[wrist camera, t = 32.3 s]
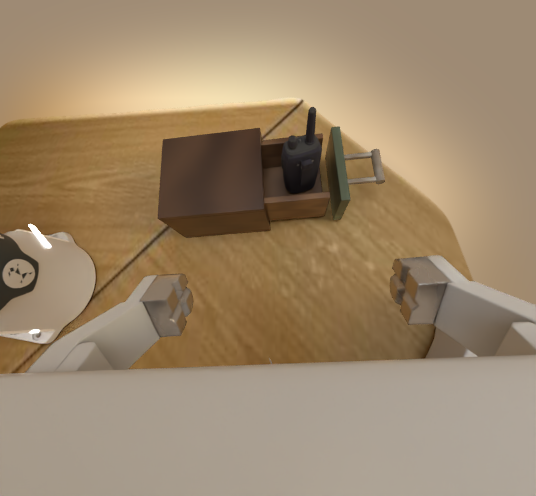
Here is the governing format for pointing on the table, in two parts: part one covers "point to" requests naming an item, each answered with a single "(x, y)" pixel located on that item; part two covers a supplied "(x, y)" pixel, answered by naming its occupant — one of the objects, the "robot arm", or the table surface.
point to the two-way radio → (301, 158)
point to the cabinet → (213, 184)
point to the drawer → (313, 200)
